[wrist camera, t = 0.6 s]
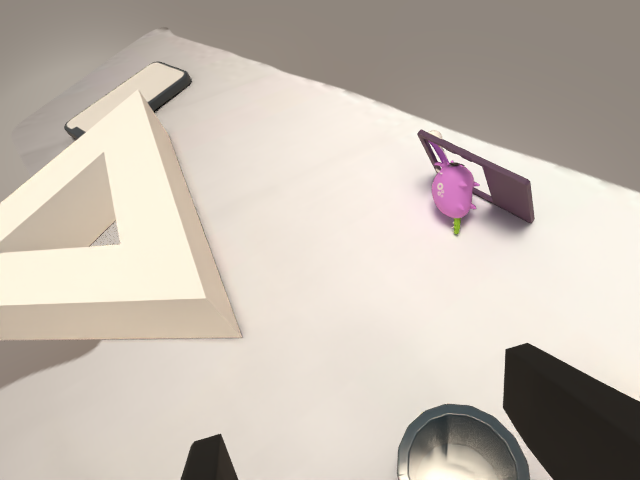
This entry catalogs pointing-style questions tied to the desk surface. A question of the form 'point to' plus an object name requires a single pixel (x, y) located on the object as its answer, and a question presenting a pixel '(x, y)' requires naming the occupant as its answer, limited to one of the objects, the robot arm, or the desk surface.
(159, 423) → the desk surface
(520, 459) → the cup
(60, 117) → the desk surface
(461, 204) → the purple product box
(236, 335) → the triangle block
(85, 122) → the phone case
